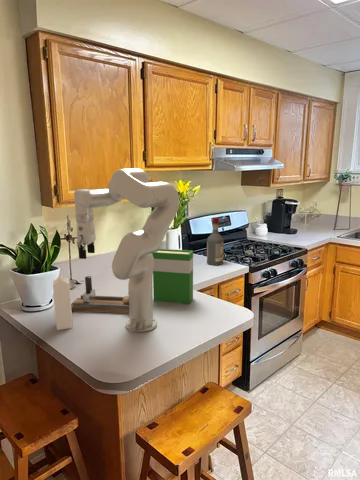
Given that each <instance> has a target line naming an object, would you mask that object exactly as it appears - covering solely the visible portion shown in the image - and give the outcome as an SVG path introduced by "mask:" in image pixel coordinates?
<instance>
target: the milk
mask: <svg viewBox="0 0 360 480" xmlns="http://www.w3.org/2000/svg"><path fill="white" fill-rule="evenodd" d="M52 283H53V284H52V289H53V290H52V291H53V301H54V314H55V324H56V325H55V326H56V330H57V331H61V330H67V329H69V330H70V329H73V314H72V313H73V312H72V310H71V304H72V300H71V289H70V288H71V287H70V286H71V285H70V279H69V278H68V277H65V276H63V275H62V273H60V275H59V276H58V277H57V278H56V279H54V280H53V282H52Z"/></svg>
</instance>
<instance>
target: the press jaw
mask: <svg viewBox="0 0 360 480" xmlns="http://www.w3.org/2000/svg"><path fill="white" fill-rule="evenodd" d="M84 282H85V283H84V284H85V285H84V286H85V292H84V293H83V294H82V295H83V303H93V302H94V301H95V300H96V296H97V295H96V289H95V288H93V283H92V276H91V275H88V276H87V275H86V276H84Z"/></svg>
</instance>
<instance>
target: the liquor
mask: <svg viewBox="0 0 360 480" xmlns="http://www.w3.org/2000/svg"><path fill="white" fill-rule="evenodd" d="M219 221H220V220H219V217H212V232H211V234H210V235H208V237H207V239H206V263H207V265H209V266H213V267H214V266H217V267H218V266H221V265H223V263H224V243H225V242H224V241H225V240H224V238H223V236H222V235H221V234H220V233H219Z"/></svg>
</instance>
